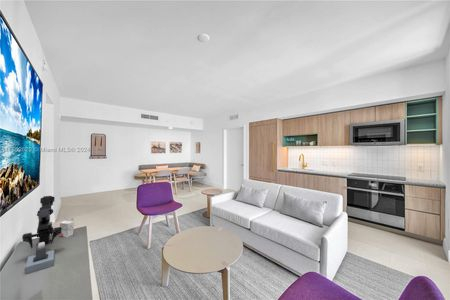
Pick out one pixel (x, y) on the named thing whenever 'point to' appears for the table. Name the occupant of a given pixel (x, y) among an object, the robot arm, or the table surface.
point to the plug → (41, 252)
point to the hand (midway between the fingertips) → (41, 246)
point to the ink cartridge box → (67, 227)
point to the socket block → (39, 262)
